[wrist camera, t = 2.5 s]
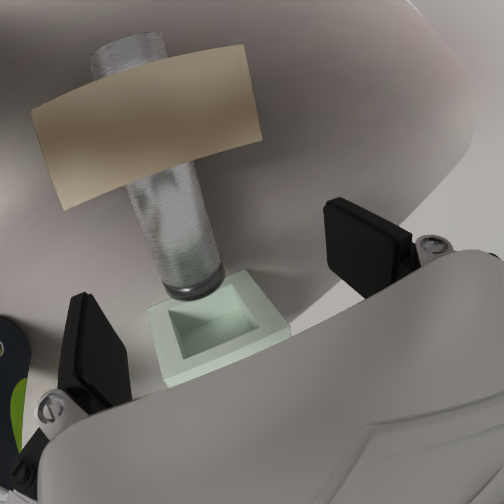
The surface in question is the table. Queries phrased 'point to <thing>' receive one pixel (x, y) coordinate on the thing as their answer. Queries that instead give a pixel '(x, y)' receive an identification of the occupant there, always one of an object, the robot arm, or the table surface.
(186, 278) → the tube
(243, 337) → the socket block
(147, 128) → the guide block
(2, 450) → the beverage can
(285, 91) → the table surface
